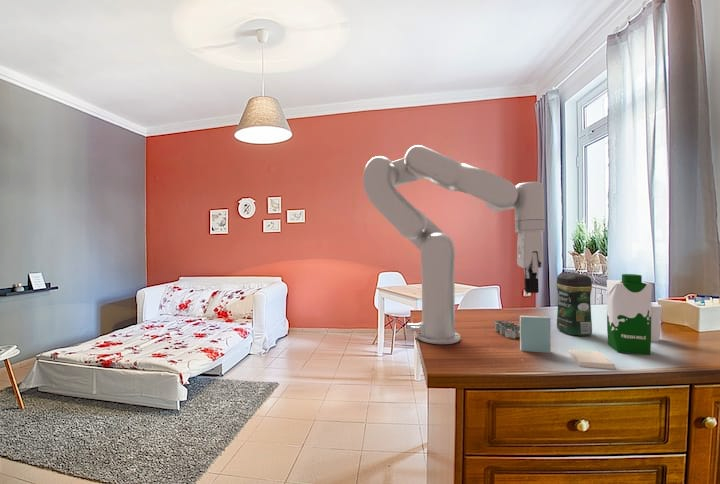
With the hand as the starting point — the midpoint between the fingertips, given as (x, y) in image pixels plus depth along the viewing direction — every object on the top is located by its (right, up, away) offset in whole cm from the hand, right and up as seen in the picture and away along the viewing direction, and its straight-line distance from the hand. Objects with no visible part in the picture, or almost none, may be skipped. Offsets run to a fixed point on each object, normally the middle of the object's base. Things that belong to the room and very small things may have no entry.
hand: (531, 292), depth 97 cm
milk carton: (+23, -15, -5) cm, 28 cm away
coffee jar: (+19, -14, +11) cm, 26 cm away
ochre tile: (+9, -14, -9) cm, 19 cm away
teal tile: (-2, -15, -6) cm, 16 cm away
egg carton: (-1, -15, +11) cm, 18 cm away
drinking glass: (+35, -14, +4) cm, 38 cm away
